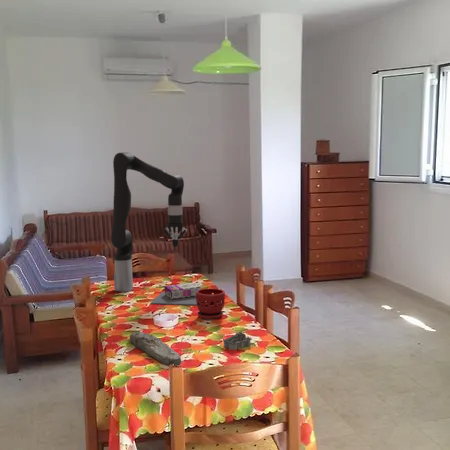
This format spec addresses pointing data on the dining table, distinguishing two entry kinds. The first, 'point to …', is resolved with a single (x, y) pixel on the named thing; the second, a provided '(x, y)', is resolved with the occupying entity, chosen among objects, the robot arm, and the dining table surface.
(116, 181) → the robot arm
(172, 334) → the dining table surface
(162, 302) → the rubber mat
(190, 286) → the candy bar box
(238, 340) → the egg carton
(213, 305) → the plant pot
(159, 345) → the long grey stone
